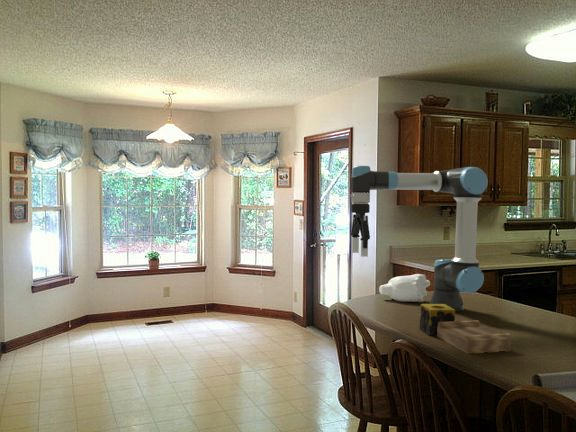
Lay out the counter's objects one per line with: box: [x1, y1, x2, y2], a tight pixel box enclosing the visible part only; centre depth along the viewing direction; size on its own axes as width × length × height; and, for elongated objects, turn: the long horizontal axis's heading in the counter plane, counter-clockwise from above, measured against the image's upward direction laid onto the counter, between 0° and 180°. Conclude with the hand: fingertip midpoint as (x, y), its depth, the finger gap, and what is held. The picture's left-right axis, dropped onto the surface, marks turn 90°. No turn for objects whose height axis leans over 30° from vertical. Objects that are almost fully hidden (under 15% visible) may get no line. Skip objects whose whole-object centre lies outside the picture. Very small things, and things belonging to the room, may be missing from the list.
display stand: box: [436, 319, 512, 355], centre depth 174 cm, size 16×20×6 cm
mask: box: [378, 273, 431, 303], centre depth 247 cm, size 14×14×25 cm
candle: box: [419, 303, 456, 337], centre depth 188 cm, size 10×10×10 cm
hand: (359, 254), depth 205 cm, fingers open, 13 cm apart
